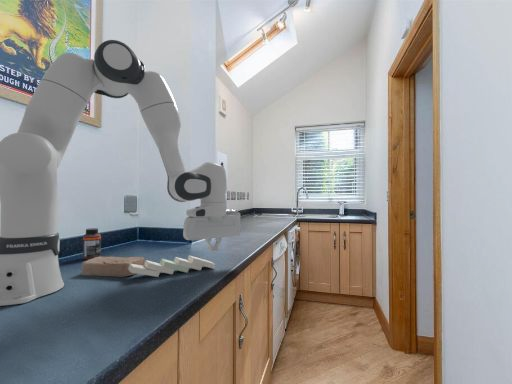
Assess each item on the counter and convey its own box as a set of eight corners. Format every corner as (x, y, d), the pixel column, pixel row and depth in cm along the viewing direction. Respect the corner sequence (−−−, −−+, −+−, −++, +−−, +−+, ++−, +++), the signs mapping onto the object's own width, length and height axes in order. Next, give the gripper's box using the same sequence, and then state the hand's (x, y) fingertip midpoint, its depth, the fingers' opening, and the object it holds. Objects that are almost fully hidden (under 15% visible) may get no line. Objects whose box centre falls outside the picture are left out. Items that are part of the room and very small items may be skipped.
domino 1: (158, 277, 81) (130, 272, 77) (154, 273, 85) (128, 268, 81) (160, 271, 81) (132, 266, 77) (156, 268, 85) (129, 263, 81)
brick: (79, 276, 83) (79, 260, 83) (98, 268, 91) (99, 254, 91) (130, 278, 81) (130, 262, 81) (145, 270, 89) (145, 256, 89)
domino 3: (200, 270, 88) (177, 264, 84) (195, 267, 92) (173, 261, 88) (202, 265, 88) (179, 259, 84) (197, 262, 92) (175, 256, 88)
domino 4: (213, 268, 90) (191, 263, 86) (208, 265, 94) (187, 260, 90) (215, 264, 91) (193, 258, 87) (209, 261, 95) (189, 255, 91)
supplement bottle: (86, 256, 107) (86, 227, 107) (103, 255, 108) (103, 227, 108) (79, 260, 101) (80, 229, 101) (97, 259, 103) (97, 229, 103)
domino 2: (172, 274, 83) (146, 268, 79) (168, 271, 87) (143, 265, 83) (174, 269, 84) (149, 263, 80) (170, 266, 87) (145, 259, 84)
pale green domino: (187, 272, 86) (163, 266, 82) (183, 269, 90) (159, 263, 86) (189, 267, 86) (165, 261, 82) (184, 264, 90) (161, 258, 86)
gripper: (236, 209, 101) (236, 246, 101) (181, 210, 90) (181, 252, 90) (244, 210, 96) (244, 249, 96) (187, 211, 85) (187, 256, 85)
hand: (213, 251), depth 93 cm, fingers closed
